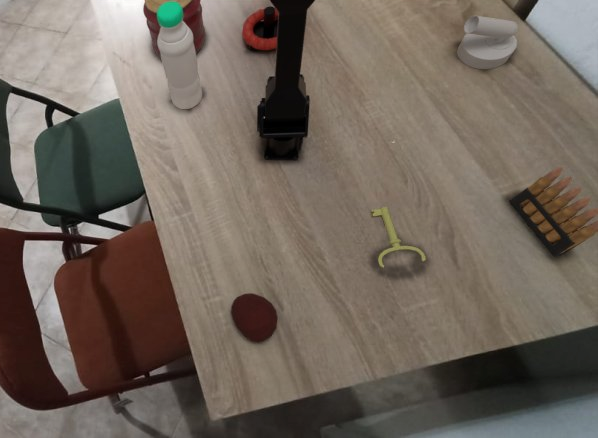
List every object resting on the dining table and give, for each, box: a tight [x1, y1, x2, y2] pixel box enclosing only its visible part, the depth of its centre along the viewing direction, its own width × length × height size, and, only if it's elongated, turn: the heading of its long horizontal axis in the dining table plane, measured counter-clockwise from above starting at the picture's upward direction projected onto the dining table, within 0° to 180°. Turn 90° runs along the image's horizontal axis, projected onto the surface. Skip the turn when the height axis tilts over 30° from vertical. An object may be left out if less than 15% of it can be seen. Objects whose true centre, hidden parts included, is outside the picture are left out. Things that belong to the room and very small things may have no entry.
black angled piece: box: [249, 5, 278, 52], centre depth 99 cm, size 8×8×8 cm
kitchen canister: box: [142, 0, 206, 59], centre depth 101 cm, size 13×13×18 cm
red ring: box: [241, 6, 278, 51], centre depth 100 cm, size 12×12×2 cm
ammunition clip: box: [508, 166, 598, 257], centre depth 66 cm, size 11×2×12 cm, turn 16°
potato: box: [230, 292, 279, 343], centre depth 75 cm, size 7×8×6 cm
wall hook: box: [456, 15, 519, 70], centre depth 82 cm, size 9×10×10 cm
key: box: [370, 206, 427, 268], centre depth 76 cm, size 7×12×2 cm, turn 23°
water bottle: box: [157, 1, 203, 110], centre depth 90 cm, size 7×7×25 cm
